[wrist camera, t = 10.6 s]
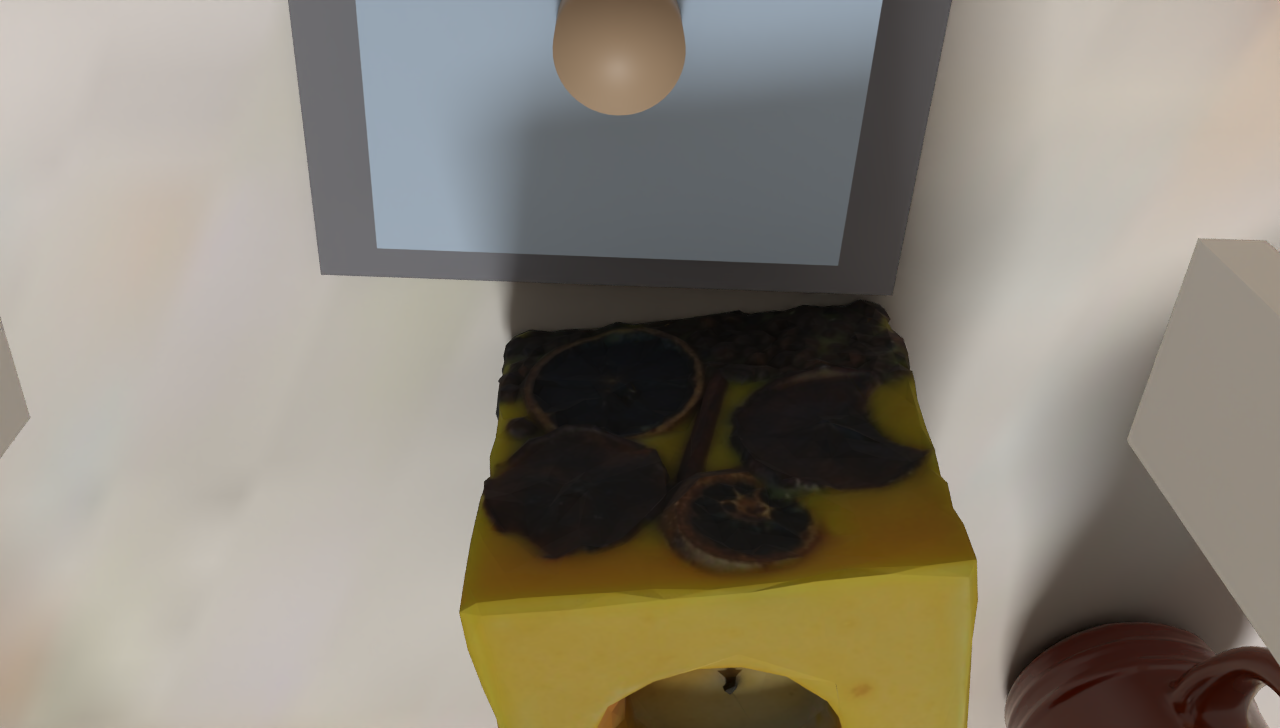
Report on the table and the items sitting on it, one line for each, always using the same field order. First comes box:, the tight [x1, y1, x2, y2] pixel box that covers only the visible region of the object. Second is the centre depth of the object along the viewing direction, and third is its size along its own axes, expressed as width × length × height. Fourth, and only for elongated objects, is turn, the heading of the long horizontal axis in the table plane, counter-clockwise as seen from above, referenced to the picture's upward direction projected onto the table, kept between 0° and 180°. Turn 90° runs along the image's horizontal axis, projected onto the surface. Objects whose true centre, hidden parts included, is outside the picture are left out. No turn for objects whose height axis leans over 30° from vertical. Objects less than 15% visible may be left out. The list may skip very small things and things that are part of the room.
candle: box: [459, 299, 978, 728], centre depth 27 cm, size 10×10×10 cm
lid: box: [355, 0, 883, 266], centre depth 22 cm, size 10×10×4 cm
